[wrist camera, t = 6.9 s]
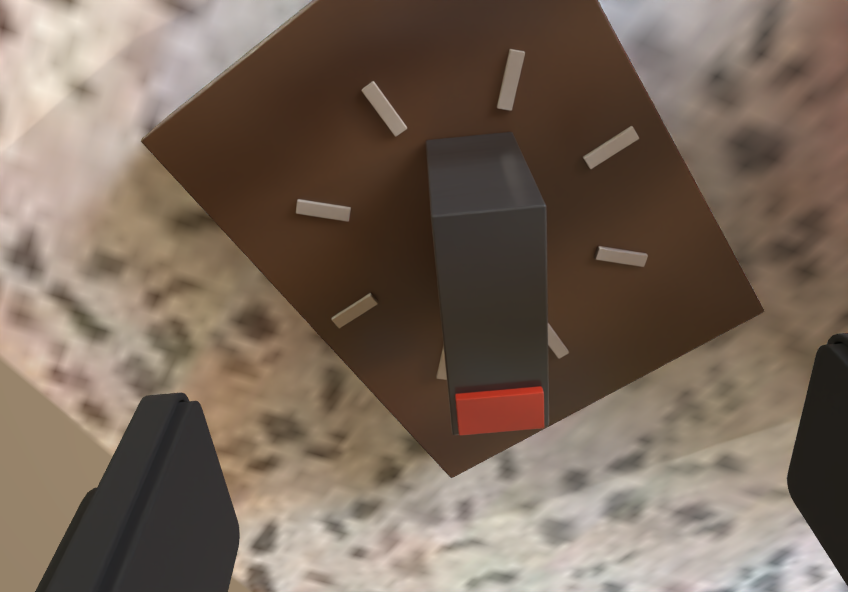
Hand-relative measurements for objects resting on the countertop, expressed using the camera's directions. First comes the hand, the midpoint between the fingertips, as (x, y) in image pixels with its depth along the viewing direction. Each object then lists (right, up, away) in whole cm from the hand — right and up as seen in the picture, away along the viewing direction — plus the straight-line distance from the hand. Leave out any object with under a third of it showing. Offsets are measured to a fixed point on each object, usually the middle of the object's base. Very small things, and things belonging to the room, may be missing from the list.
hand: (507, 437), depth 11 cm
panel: (0, +5, +10) cm, 12 cm away
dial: (0, +4, +8) cm, 9 cm away
